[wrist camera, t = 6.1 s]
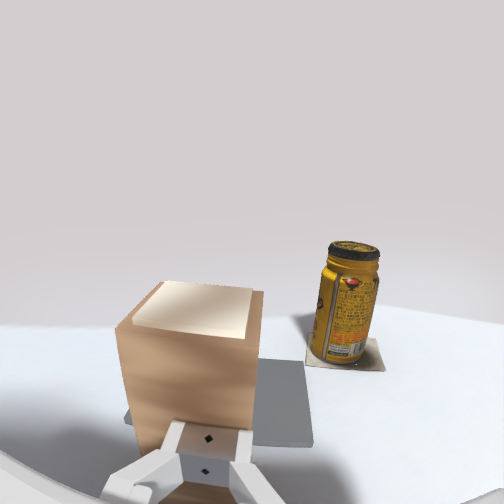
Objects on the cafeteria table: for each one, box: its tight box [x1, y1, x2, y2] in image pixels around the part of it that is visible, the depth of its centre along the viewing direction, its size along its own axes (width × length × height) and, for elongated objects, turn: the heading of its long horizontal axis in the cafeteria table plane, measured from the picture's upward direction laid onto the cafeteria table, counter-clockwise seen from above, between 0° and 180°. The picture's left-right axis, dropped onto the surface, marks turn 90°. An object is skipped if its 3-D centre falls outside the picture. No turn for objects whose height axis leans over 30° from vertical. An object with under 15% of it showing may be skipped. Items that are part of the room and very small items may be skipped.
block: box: [115, 281, 264, 504], centre depth 14 cm, size 5×5×13 cm
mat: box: [124, 358, 314, 447], centre depth 24 cm, size 14×11×1 cm
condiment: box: [306, 241, 386, 371], centre depth 31 cm, size 7×8×12 cm
